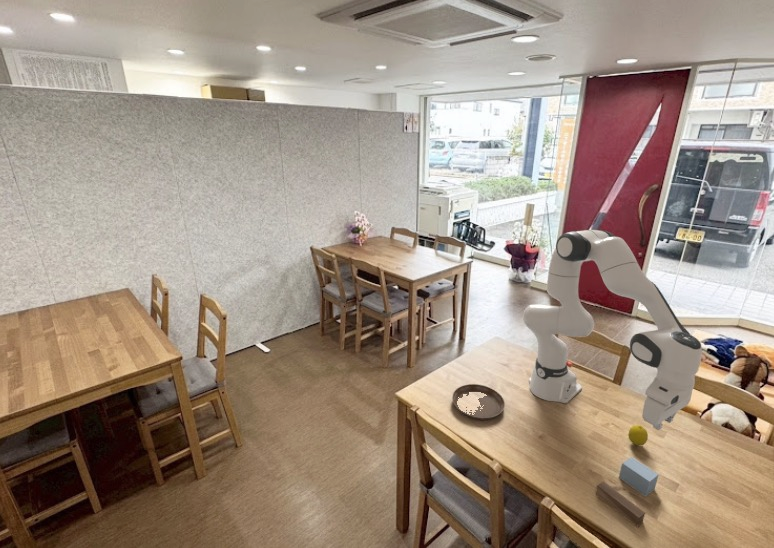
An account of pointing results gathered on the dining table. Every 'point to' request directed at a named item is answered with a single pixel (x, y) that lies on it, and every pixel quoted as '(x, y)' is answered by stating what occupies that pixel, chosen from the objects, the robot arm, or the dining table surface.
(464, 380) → the dining table surface
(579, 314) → the robot arm
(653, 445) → the dining table surface
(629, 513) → the brown rectangular bar
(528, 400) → the dining table surface
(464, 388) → the plant saucer
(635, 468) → the block
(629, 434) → the lemon
